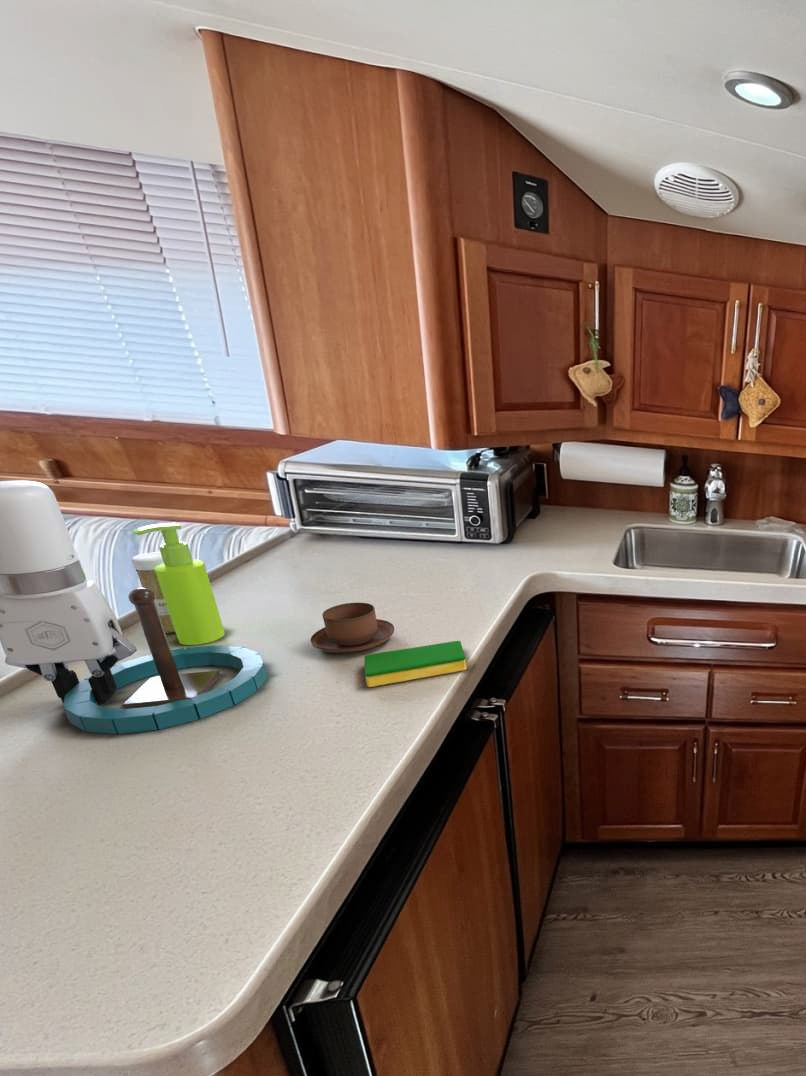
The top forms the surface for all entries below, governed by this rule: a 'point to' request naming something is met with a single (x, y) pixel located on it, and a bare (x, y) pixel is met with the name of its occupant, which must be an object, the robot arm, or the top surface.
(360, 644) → the cup and saucer
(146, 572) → the sprinkles bottle
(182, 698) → the wooden peg stand
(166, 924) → the top surface
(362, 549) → the top surface
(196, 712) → the hoop
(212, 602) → the soap dispenser
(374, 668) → the dish sponge
